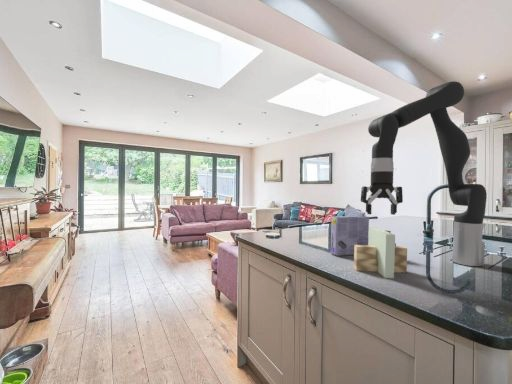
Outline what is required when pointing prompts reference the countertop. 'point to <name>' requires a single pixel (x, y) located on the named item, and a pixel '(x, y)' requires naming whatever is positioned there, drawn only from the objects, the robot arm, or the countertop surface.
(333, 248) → the cake pan box
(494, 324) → the countertop surface
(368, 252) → the oak u-shaped block
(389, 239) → the sage board
